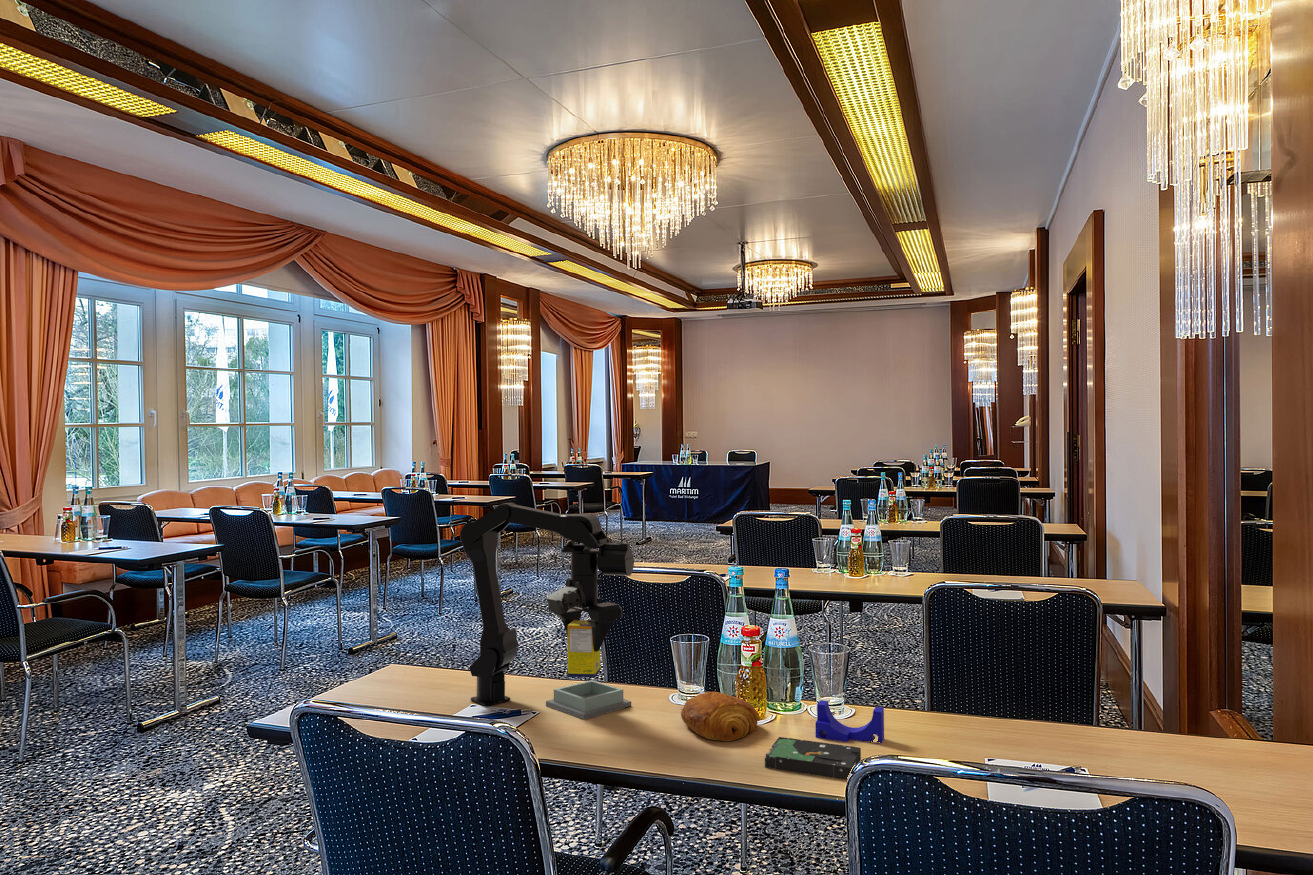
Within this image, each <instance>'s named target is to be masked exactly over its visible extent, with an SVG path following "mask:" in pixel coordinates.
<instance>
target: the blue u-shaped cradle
mask: <svg viewBox="0 0 1313 875" xmlns="http://www.w3.org/2000/svg"><path fill="white" fill-rule="evenodd" d="M830 708H831V707H830V704H829V700H822V699H820V700H819V702H818V703H817V704H816V712H817V713H816V715H817V716H816V721H815V726H814V727H815V728H814V729H815V739H823V740H832V741H837V742H843V743H844V742H846V743H848V742H849V741H850V740H852V741H857V740H858V742H864V741H870V742H869V743H871V741H872V742H873V740H874V739H875V737H878V741H877V742H880V743H882V744H883V742H884V740H885V707H881V706H875V707H874V709H873V711H872V717H871V720H870V721H869V722H868V723H866V724H865V725H863V726H860V727H859V726H858V727H850V726H848V725H845V724H843V723H841V722H840V721H838V719H836V717H835V716H834V715H833V713H832V712H831V709H830ZM883 739H884V740H883ZM860 740H861V741H860ZM882 741H883V742H882Z"/></svg>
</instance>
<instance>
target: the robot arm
mask: <svg viewBox="0 0 1313 875" xmlns="http://www.w3.org/2000/svg"><path fill="white" fill-rule="evenodd" d="M510 524H515V525H517V524H518V525H521V526H524V527H525V526H527V527H531V528H535V529H539V530H544V531H549V532H554V533H556V534H557V535H559V536H561V537H563V538H565V539H567V540H569V541H568V542H567V544H566V545H565V546H564V547H563V548H561V550H560V551H561V553H565V554H566V553H568V554H569V553H571V554H570V578H566V581H565V587H563V588H560V589H558V590H556V591H554V592H553V593H551V594H549V595H548V596H546V601H547V604H548V610H549V611H550V612H551V613H553V615H556V616H557V617H558V619H559V618H560V620H561V621H562V625H563V627H564V630H565V632H566V637H567V638H568V631H567V630H568V628H567V627H568V625H569V624H570V623H571V622H572V621H573V620H581V617H582V612H585V613H588V617H589V618H590V619H586V620H587V622H588V623H589V624H590V625H591V626H592V636H593V648H594V651H595V652H597V651H599V650H600V651H601V648H602V645H603V643H604V641H605V639H606V637H607V634H608V633H609V631H610V629H611V628H612V626H613V624H614V622H616V621H618V619H622V618H623V608H622V607H621V605H620V604H618V603H614V602H610V601H607V602H603V598H602V597H599V584H603V579H602V578H599V572H601V574H602V575H604V576H623V577H630V576H631V575H632V574H633V571H634V566H635V557H634V554H633V550H632V549H631V543H630V542H622V543H612V542H611V541H610V539H609V538H608V536H607V534H606V532H604V530H603V529H602V524H601V521H600V519H599V518H598V516H596V515H594V514H593V513H592V514H591V513H567V514H565V513H557V512H553V511H548V510H543V509H539V508H533V507H529V506H523V505H518V504H516V503H514V502H504V503H500V504H498V505H497V506H496V507H495V508H494V509H493V508H492V510H490V511H489V512H487V513H485V514H483V515H482V516H480V517H479V518H477V519H476V520H475V521H469V522H466V523H465V524H464V525H463V526H462V528H461V529H460V531H459V539H460V542H461V544H462V548H463V552H464V553H465V554H466V556H467V557H468V559H469V560H470V562H471V564H472V567H473V573H474V574H473V576H474V579H475V587H476V591H477V593H476V594H477V598H478V604H479V610H480V616H481V622H482V631H481V635H480V641H479V656H478V657H477V658H476V659H475V660H474V662H473V663H471V664H470V665H469V671H470V674H471V676H472V677H476V696H472V697H470V701H471V702H475V703H477V704H478V705H482V706H485V707H488V706H491V705H496V704H499V703H504V702H509V701H511V697H510V696H508V695H507V696H506V681H505V680H506V678H505V674H506V673H505V670H507V669H509V668H510V666H511V662H512V661H513V660H514V659H515V658H516V656H517V654H518V648H519V647H520V644H519V642H518V641H519V640H518V638H517V636H518V635H517V634H518V633H517V629H516V628H512V629H510V628H509V627H508V625H507V624H506V620H505V614H504V608H503V603H502V602H503V601H502V598H501V590H500V584H499V581H498V574H497V568H496V563H495V562H496V561H495V557H496V553H497V549H498V548H497V547H498V535H499V534H500V533H501V532H502V531H504V530H505V529H506V528H507V527H508V526H509V525H510Z"/></svg>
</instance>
